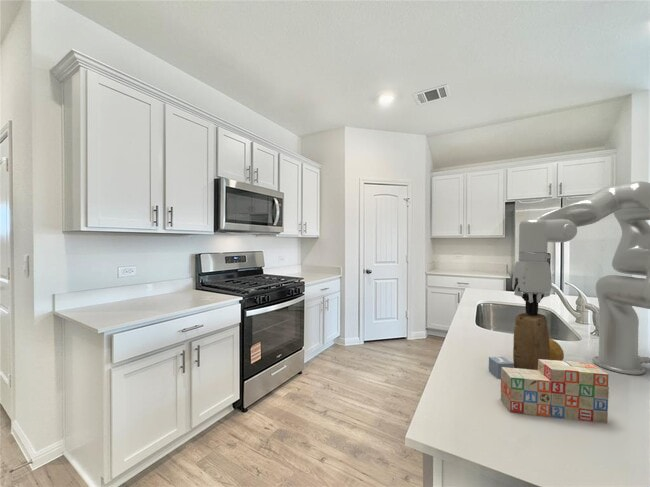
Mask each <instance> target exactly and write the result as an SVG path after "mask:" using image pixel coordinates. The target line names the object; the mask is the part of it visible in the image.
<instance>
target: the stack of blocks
mask: <svg viewBox="0 0 650 487" xmlns="http://www.w3.org/2000/svg"><path fill="white" fill-rule="evenodd" d="M609 391H610V387H609V373H607V372H605V371H604V370H602V369H601V368H599V367H597V365H594V364H592V363H585V362H577V361H572V360H571V361H570V360H564V361H563V360H562V361H557V360H543V359H538V370H529V369H519V368H507V367H501V379H500V400H501V402H502V403H503V404H504V405H505V407H506V408H507V410H508V411H509V412H510V413H518V414H525V415H532V416H541V417H547V418H548V417H551V418H558V419H568V420H575V421H576V420H577V421H585V422H593V423H600V424H608V422H609V421H608V419H609V415H608V414H609V412H608V409H609V396H610V392H609Z"/></svg>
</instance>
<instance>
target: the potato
mask: <svg viewBox="0 0 650 487" xmlns="http://www.w3.org/2000/svg"><path fill="white" fill-rule="evenodd" d="M549 345H550V352H549V360H557V361H563V360H564V359H565V355H564V354H565V352H564V349H563V348H562V347H561V345H560V343H558V342H557V341H555V340H554V339H552V338H550V337H549Z"/></svg>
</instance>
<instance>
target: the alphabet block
mask: <svg viewBox="0 0 650 487" xmlns="http://www.w3.org/2000/svg"><path fill="white" fill-rule="evenodd" d="M501 367H507V368H514V362H512V361H511V360H509V359H507V358H506V357H504V356H489V357H488V373H490V374H491V375H492V376H494V378H496V379H497V380H501Z"/></svg>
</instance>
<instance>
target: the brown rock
mask: <svg viewBox="0 0 650 487" xmlns="http://www.w3.org/2000/svg"><path fill="white" fill-rule="evenodd" d="M514 324H515V325H514V328H513V350H512V352H513V355H512V358H513V363H514V368H519V369H529V370H538V359H543V360H549V352H550V345H549V338H550V332H549V327H548V322H547V317H546V315H544V314H540V313H538V315H530V314H527V313H526V312H523V313H520V314H518V315H516V316H515V323H514Z"/></svg>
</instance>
